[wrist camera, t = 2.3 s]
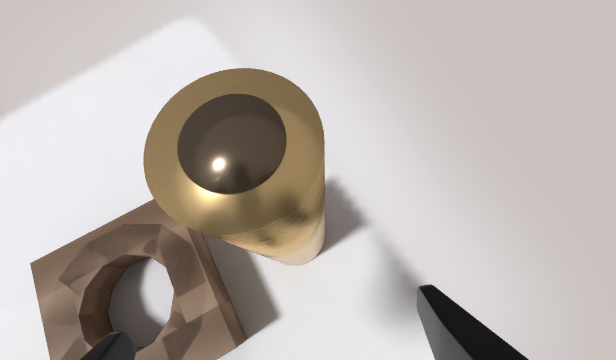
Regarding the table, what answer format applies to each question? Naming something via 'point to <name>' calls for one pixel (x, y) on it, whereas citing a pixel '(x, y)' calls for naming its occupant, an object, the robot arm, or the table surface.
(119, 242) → the jig plate
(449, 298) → the robot arm
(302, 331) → the table surface
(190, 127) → the bronze sleeve
